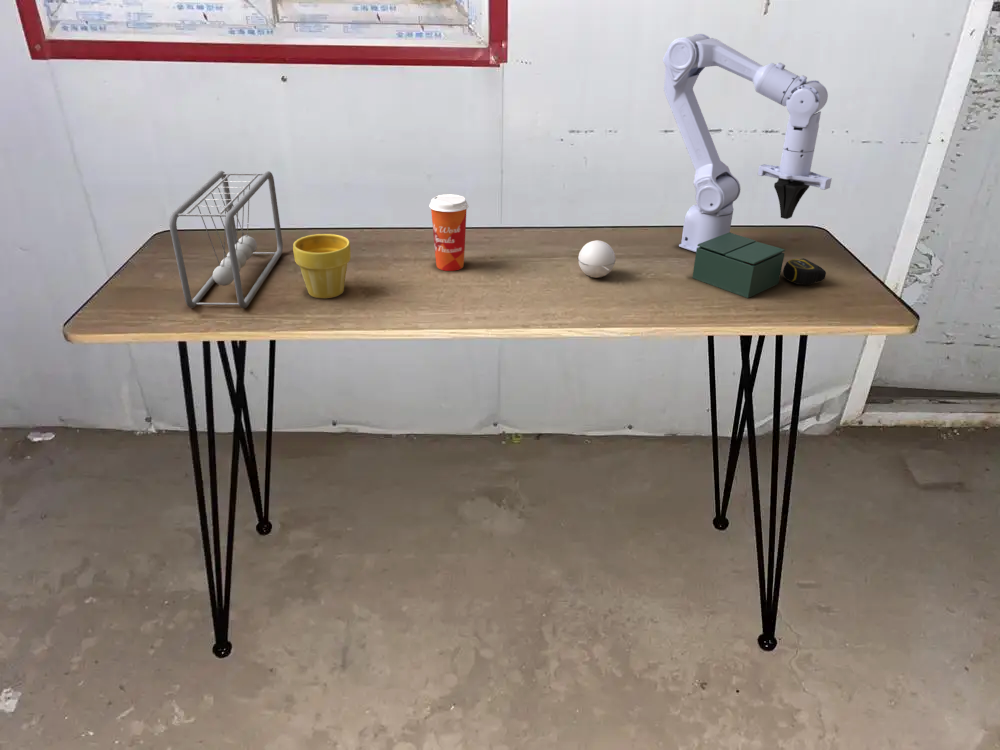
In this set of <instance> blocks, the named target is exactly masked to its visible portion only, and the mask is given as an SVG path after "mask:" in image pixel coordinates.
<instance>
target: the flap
mask: <svg viewBox="0 0 1000 750" xmlns="http://www.w3.org/2000/svg"><path fill="white" fill-rule="evenodd" d="M785 251H786V249H784V248H781V247H778V246H774V245H770V244H767V243H763V242H760V241H756V242H754V243H752V244H749V245H747V246H745V247H742V248H740V249H737V250H735V251H732V252H730V253H727V254H725V256H727V257H731V258H734V259H737V260H741V261H744V262H747V263H751V264H756V263H758V262H761V261H763V260H765V259H768V258H770V257H772V256H775V255H777V254H779V253H785Z"/></svg>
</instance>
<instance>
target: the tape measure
mask: <svg viewBox="0 0 1000 750" xmlns="http://www.w3.org/2000/svg"><path fill="white" fill-rule="evenodd" d="M782 274H783V277H784V279H786V280H787V281H789V282H791V283H794V284H795V285H806V286H807V285H813V284H816V283H821V282H823V281H824V280H826V279H825V278H826V276H827V272H826V270H825V269H824V268H823V267H821V266H819V265H818V264H816V263H815V262H812V261H810V260H808V259H806V258H800V259H799V258H792V259H789V260H787V261H786V262H785V265H784V267H783V269H782Z"/></svg>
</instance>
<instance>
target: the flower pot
mask: <svg viewBox="0 0 1000 750" xmlns="http://www.w3.org/2000/svg"><path fill="white" fill-rule="evenodd" d="M292 251H293V257H294V262H295V264H296V265H297V266H299V269H300V272H301V276H302V279H303V281H304V284H305V288H306V290H307V293H308V294H309V296H311V297H312V298H316V299H332V298H336V297H338V296H340V295H342V294H343V292H344V291H345V282H346V275H347V269H348V264H349V262H350V261H351V258H352V255H351V251H352V249H351V242H350V240H349V239H348V238H347V237H345V236H343V235H341V234H334V233H316V234H315V233H314V234H309V235H304V236H301V237H299V238H298V239H296V240H295V241H294V242H293V244H292Z"/></svg>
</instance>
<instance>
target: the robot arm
mask: <svg viewBox="0 0 1000 750" xmlns="http://www.w3.org/2000/svg"><path fill="white" fill-rule="evenodd" d="M662 61H663V64H664V83H663V92H664V95H665V97H666V99H667V103H668V106H669V109H670V111H671V113H672V116H673V117H674V121H675V123H676V125H677V128H678V130H679V133H680V136H681V138H682V141H683V143H684V146H685V149H686V151H687V154H688V156H689V158H690V161H691V163H692V166H693V169H694V171H695V173H694V178H693V186H694V189H695V203H696V204H693V205H691V206H690V207H689V208H688V210H687V212H686V213H685V216H684V220H683V227H682V233H681V234H682V235H681V241H680V243H679V244H678V247H679V248H682V249H685V250H688V251H691V252H694V253H696V250H697V248H698V247H700V246H698V244H700V243H702V242H705V241H708V240H710V239H713V238H716V237H718V236H721V235H724V234H726V233H729V232H730V233H731V228H732V227H731V226H732V220H733V215H734V205H733V204H734V202H735V201H737V200H738V198H739V197H740V194H741V184H740V182H739V180H738V178H736V177H735V176H734V175H733V174H732V172H731V170H730V168H729V166H728V165H727V164H726V163H724V161H722V160H721V158H720V155H719V153H718V151H717V148H716V145H715V143H714V140H713V138H712V135H711V132H710V130H709V128H708V124H707V122H706V120H705V117H704V114H703V112H702V109H701V107H700V104H699V102H698V99H697V97H696V94H695V91H694V86H695V85H696V82H697V80H698V78H699V76H700V74H701V73H702V71H703V70H704V69H705V68H709V67H719V68H721V69H723V70H726V71H727V72H730V73H732V74H734V75H736V76H739V77H740V78H743V79H746V80H748V81H749V82H751V83H752V84H753V86H754V87H753V88H754V90H755V92H756V93H758V94H760V95H761V96H763V97H765V98H767V99H769V100H771V101H773V102H775V103H777V104H779V105H780V106H783V107H786V109H787V112H788V119H787V120H788V121H787V123H786V129H785V135H784V140H783V147H782V153H781V158H780V163H779V165H773V164H766V163H763V164H759V166H758V169H757V176H759V177H769V178H774V179H777V181H776V182H774V184H773V188H774V190H775V192H776V195H777V198H778V202H779V203H778V204H779V212H780V218H781V219H784V220H788V219H790V218H791V219H792V218H793V215H794V212H795V210H796V207H797V206H798V204H799V202H800V200H801V199H802V198H803V196H804V195H805V193H806V192H807V191H808V189H809V188H810V186H811V187H814V188H819V189H820V190H823V191H825V190H828V189H830V188H831V184H832V180H833V179H832V177H828V176H824V175H822V174H819V173H816V172H813V171H811V169H812V164H813V158H814V153H815V148H816V144H817V138H818V134H819V133H818V132H819V128H820V119H821V114H822V111H821V110H822V109H823V108H825V106H826V104H827V102H828V97H829V93H828V90H827V88H826V86H824V84H823V83H821V82H820V80H816V79H813V80H808V77H807V76H806V75H804V74H802V75H798V74H796V73H795V72H792V71H790V70H788V69H786V68H785V67H786V65H785V64H784V63H782V62H777V63H774V62H771V63H767V64H765V65H762V64H761V63H759V62H757V61H755V60H754V59H752V58H750V57H749V56H747V55H745V54H744V53H741V52H740V51H738V50H736V49H734V48H733V47H730V46H729V45H727V44H726V43H724V42H723V41H721V40H719V39H717V38H714V37H710V36H709V35H707V34H704V33H696V34H693V35H691V36H687V37H677V38H675V39H674V40H673V41H671V43H670V44H669V45H668V47H667V49H666V51H665V53H664V56H663V58H662ZM807 80H808V81H807Z"/></svg>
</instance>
